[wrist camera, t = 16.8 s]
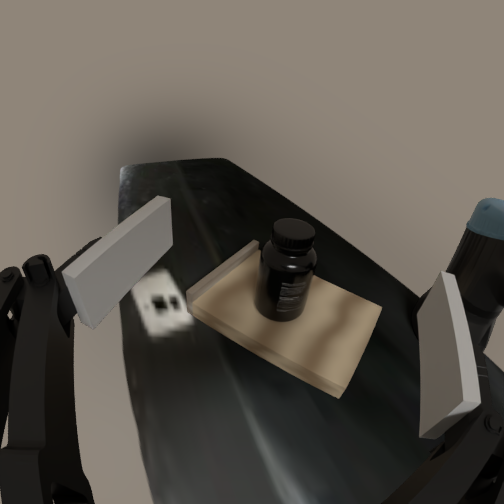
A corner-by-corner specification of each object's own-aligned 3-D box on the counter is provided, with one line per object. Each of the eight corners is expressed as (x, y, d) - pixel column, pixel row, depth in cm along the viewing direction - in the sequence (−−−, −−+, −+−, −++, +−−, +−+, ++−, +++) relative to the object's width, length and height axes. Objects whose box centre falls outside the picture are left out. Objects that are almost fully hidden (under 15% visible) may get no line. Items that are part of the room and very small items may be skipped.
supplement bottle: (308, 297, 42) (329, 223, 36) (296, 331, 37) (319, 253, 30) (263, 282, 44) (275, 208, 37) (245, 313, 39) (255, 233, 32)
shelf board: (376, 318, 43) (385, 300, 41) (338, 398, 32) (350, 381, 30) (250, 258, 53) (252, 239, 50) (185, 311, 41) (184, 289, 39)
